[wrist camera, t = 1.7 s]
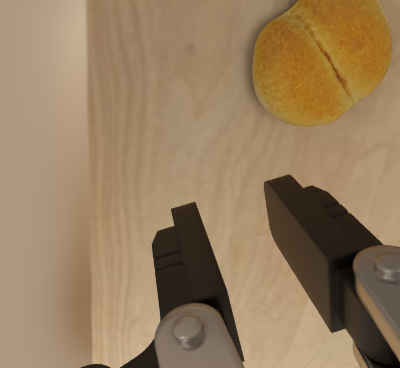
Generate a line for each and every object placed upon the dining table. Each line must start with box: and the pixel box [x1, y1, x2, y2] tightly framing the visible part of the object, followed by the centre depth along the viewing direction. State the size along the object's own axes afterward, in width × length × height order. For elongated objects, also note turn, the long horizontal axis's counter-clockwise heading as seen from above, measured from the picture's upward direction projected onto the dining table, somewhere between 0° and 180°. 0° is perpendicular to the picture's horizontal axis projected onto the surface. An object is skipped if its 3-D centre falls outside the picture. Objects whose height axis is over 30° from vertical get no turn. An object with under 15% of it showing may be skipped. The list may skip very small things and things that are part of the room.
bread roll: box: [252, 0, 392, 127], centre depth 23 cm, size 8×9×4 cm
